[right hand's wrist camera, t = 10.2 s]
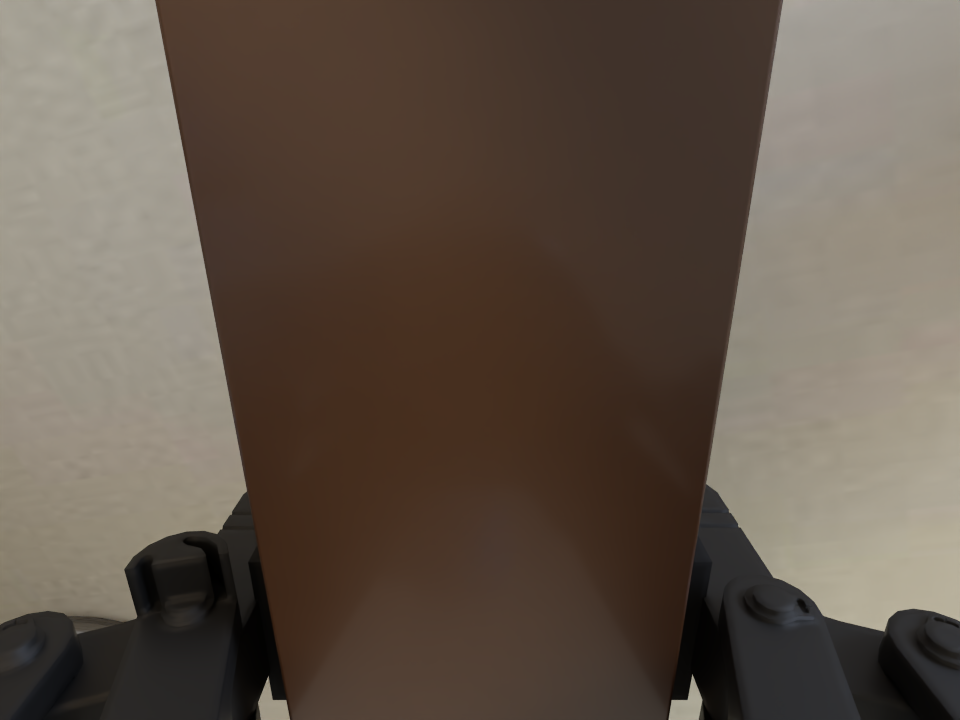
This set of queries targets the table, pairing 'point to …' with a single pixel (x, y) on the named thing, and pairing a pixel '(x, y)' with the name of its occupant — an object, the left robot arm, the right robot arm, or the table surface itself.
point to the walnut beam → (473, 330)
